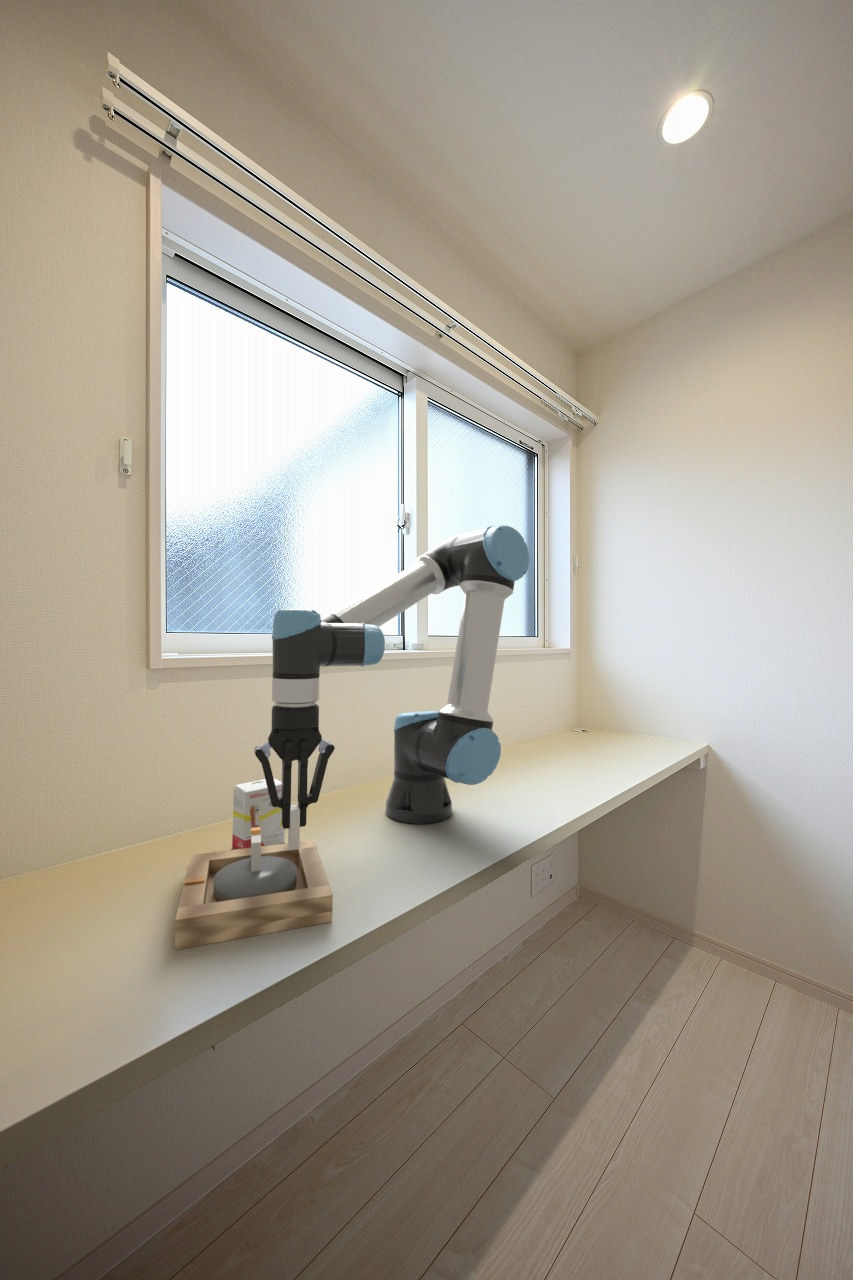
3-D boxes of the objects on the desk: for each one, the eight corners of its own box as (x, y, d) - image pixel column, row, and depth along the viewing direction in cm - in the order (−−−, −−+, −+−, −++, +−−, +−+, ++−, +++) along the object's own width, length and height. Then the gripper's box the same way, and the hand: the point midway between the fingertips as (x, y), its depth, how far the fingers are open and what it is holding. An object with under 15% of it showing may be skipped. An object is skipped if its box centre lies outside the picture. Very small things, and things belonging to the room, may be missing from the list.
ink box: (243, 856, 91) (244, 791, 91) (231, 848, 95) (231, 785, 95) (285, 842, 98) (286, 782, 98) (272, 835, 101) (273, 776, 101)
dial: (300, 899, 74) (301, 851, 73) (210, 913, 69) (211, 863, 69) (292, 864, 85) (293, 822, 85) (215, 874, 81) (216, 830, 81)
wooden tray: (313, 861, 90) (314, 838, 90) (332, 921, 71) (332, 892, 71) (190, 878, 83) (190, 853, 83) (174, 949, 64) (175, 917, 64)
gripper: (331, 699, 89) (329, 833, 89) (252, 701, 84) (250, 843, 84) (339, 705, 82) (337, 850, 82) (255, 708, 77) (252, 862, 77)
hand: (293, 846), depth 83 cm, fingers closed
